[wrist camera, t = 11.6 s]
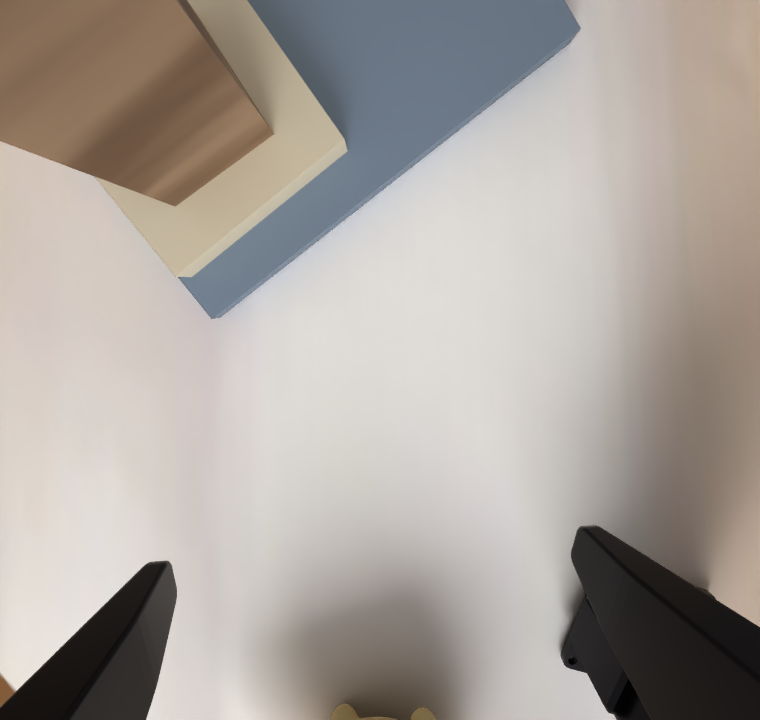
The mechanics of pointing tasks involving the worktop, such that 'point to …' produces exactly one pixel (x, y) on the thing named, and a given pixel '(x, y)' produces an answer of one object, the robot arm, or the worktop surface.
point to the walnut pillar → (123, 93)
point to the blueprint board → (335, 120)
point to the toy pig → (346, 716)
